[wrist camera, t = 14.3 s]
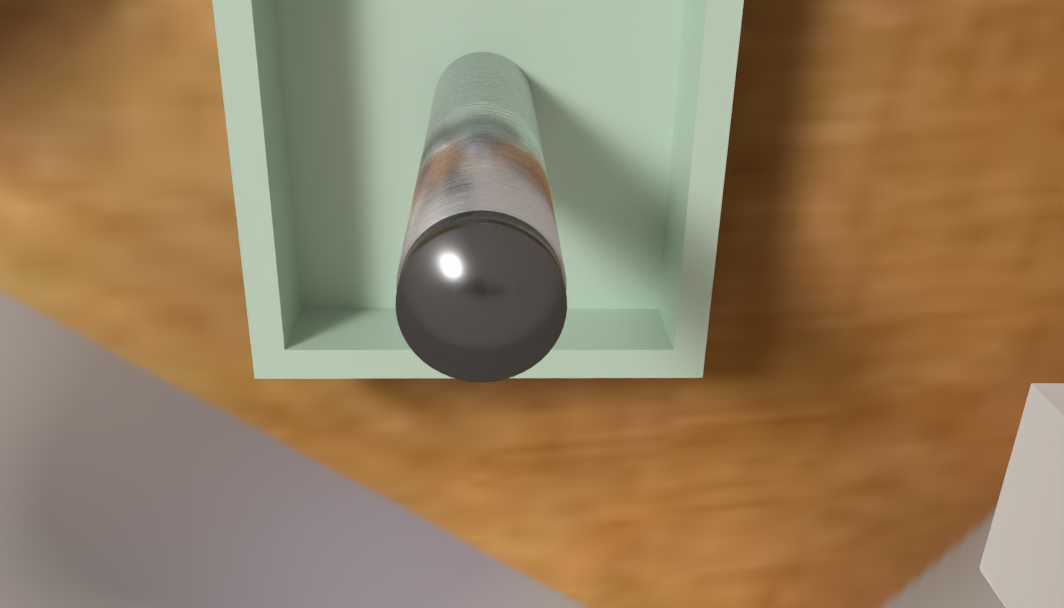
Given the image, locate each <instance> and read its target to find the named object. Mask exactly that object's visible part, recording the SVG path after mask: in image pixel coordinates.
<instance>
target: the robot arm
mask: <svg viewBox="0 0 1064 608" xmlns="http://www.w3.org/2000/svg"><path fill="white" fill-rule="evenodd" d="M979 569H980V571H981V572H982V574H983V575H984V577H985V578H986V580H987V581H988V582H989V584H990V586H991V587H992V589H993V590H994V591H995V593H996V594H997V596H998V598H999V599H1000V600H1001V602H1002V603H1003V605H1004V606H1005V608H1064V383H1031V386H1030V390H1029V393H1028V397H1027V401H1026V404H1025V408H1024V411H1023V415H1022V418H1021V422H1020V425H1019V429H1018V432H1017V436H1016V440H1015V443H1014V447H1013V450H1012V454H1011V457H1010V461H1009V464H1008V468H1007V471H1006V475H1005V479H1004V482H1003V486H1002V489H1001V493H1000V496H999V500H998V503H997V507H996V511H995V514H994V518H993V521H992V525H991V528H990V532H989V535H988V539H987V543H986V546H985V550H984V553H983V557H982V560H981V564H980V567H979Z"/></svg>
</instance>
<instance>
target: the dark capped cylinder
mask: <svg viewBox="0 0 1064 608" xmlns="http://www.w3.org/2000/svg"><path fill="white" fill-rule="evenodd" d="M396 289H397V293H396V305H395V308H396V317H397V321H398V325H399V328H400V330H401V333H402V335H403V337H404V339H405V341H406V342H407V344H408V346H409V347H410V348H411V349H412V351H413V352H414V353H415V354H416V355H417V356H418V357H419V358H420V359H421V360H422V361H423V362H424V363H426V364H427V365H428V366H430V367H431V368H433V369H435V370H436V371H438V372H440V373H442V374H445V375H447V376H449V377H452V378H456V379H459V380H464V381H470V382H493V381H499V380H504V379H507V378H510V377H514V376H516V375H518V374H521V373H523V372H525V371H526V370H528V369H530V368H532V367H533V366H534V365H536V364H537V363H538V362H540V361H541V360H542V359H543V358H544V357H545V356H546V355H547V354H548V353H549V352H550V350H551V349H552V348H553V347H554V345H555V344H556V342H557V340H558V339H559V337H560V335H561V332H562V330H563V327H564V324H565V320H566V314H567V295H566V289H567V285H566V274H565V268H564V263H563V257H562V252H561V247H560V241H559V236H558V231H557V225H556V220H555V215H554V209H553V204H552V199H551V193H550V188H549V183H548V177H547V172H546V167H545V162H544V156H543V151H542V146H541V140H540V135H539V130H538V124H537V119H536V114H535V108H534V103H533V98H532V92H531V88H530V85H529V82H528V80H527V78H526V76H525V75H524V73H523V72H522V71H521V69H520V68H519V67H518V66H517V65H516V64H515V63H513V62H512V61H511V60H509V59H507V58H506V57H504V56H501V55H498V54H495V53H490V52H475V53H470V54H467V55H464V56H462V57H460V58H458V59H457V60H455V61H454V62H452V63H451V64H450V65H449V66H448V67H447V68H446V69H445V70H444V72H443V73H442V75H441V76H440V78H439V81H438V83H437V86H436V89H435V94H434V99H433V104H432V109H431V114H430V118H429V123H428V128H427V133H426V138H425V142H424V147H423V152H422V157H421V162H420V166H419V171H418V176H417V181H416V186H415V191H414V195H413V200H412V205H411V210H410V215H409V219H408V224H407V229H406V234H405V239H404V243H403V248H402V253H401V258H400V263H399V268H398V273H397V284H396Z"/></svg>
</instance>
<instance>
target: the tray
mask: <svg viewBox="0 0 1064 608" xmlns="http://www.w3.org/2000/svg"><path fill="white" fill-rule="evenodd" d="M212 1H213V10H214V19H215V28H216V37H217V46H218V55H219V64H220V73H221V82H222V91H223V99H224V108H225V117H226V126H227V135H228V144H229V153H230V162H231V171H232V180H233V189H234V198H235V207H236V216H237V225H238V234H239V243H240V252H241V261H242V270H243V279H244V288H245V297H246V306H247V315H248V323H249V332H250V341H251V350H252V359H253V368H254V377H255V379H337V378H452V377H449V376H447V375H445V374H442V373H440V372H438V371H436V370H435V369H433V368H431V367H430V366H428V365H427V364H426V363H424V362H423V361H422V360H421V359H420V358H419V357H418V356H417V355H416V354H415V353H414V352H413V351H412V349H411V348H410V347H409V346H408V344H407V342H406V341H405V339H404V337H403V335H402V333H401V330H400V328H399V325H398V321H397V317H396V308H395V305H396V293H397V289H396V284H397V273H398V268H399V263H400V258H401V253H402V248H403V243H404V239H405V234H406V229H407V224H408V219H409V215H410V210H411V205H412V200H413V195H414V191H415V186H416V181H417V176H418V171H419V166H420V162H421V157H422V152H423V147H424V142H425V138H426V133H427V128H428V123H429V118H430V114H431V109H432V104H433V99H434V94H435V89H436V86H437V83H438V81H439V78H440V76H441V75H442V73H443V72H444V70H445V69H446V68H447V67H448V66H449V65H450V64H451V63H452V62H454V61H455V60H457V59H458V58H460V57H462V56H464V55H467V54H470V53H475V52H490V53H495V54H498V55H501V56H504V57H506V58H507V59H509V60H511V61H512V62H513V63H515V64H516V65H517V66H518V67H519V68H520V69H521V71H522V72H523V73H524V75H525V76H526V78H527V80H528V82H529V85H530V88H531V92H532V98H533V103H534V108H535V114H536V119H537V124H538V130H539V135H540V140H541V146H542V151H543V156H544V162H545V167H546V172H547V177H548V183H549V188H550V193H551V199H552V204H553V209H554V215H555V220H556V225H557V231H558V236H559V241H560V247H561V252H562V257H563V263H564V268H565V274H566V285H567V289H566V295H567V314H566V320H565V324H564V327H563V330H562V332H561V335H560V337H559V339H558V340H557V342H556V344H555V345H554V347H553V348H552V349H551V350H550V352H549V353H548V354H547V355H546V356H545V357H544V358H543V359H542V360H541V361H540V362H538V363H537V364H536V365H534V366H533V367H532V368H530V369H528V370H526V371H525V372H523V373H521V374H518V375H516V376H514V377H510V378H703V370H704V361H705V352H706V342H707V333H708V324H709V315H710V306H711V297H712V288H713V278H714V269H715V260H716V251H717V242H718V233H719V224H720V214H721V205H722V196H723V187H724V178H725V169H726V160H727V150H728V141H729V132H730V123H731V114H732V105H733V96H734V87H735V77H736V68H737V59H738V50H739V41H740V32H741V23H742V13H743V4H744V0H212Z"/></svg>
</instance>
